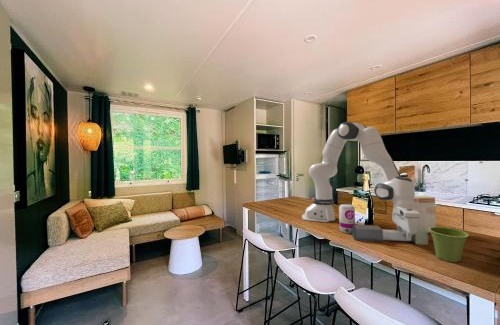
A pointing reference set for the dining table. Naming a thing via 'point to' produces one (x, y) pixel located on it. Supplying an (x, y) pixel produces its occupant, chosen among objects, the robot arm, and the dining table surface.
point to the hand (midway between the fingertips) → (404, 236)
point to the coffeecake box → (425, 211)
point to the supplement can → (346, 218)
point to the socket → (421, 237)
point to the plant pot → (448, 243)
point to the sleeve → (367, 233)
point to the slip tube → (396, 235)
